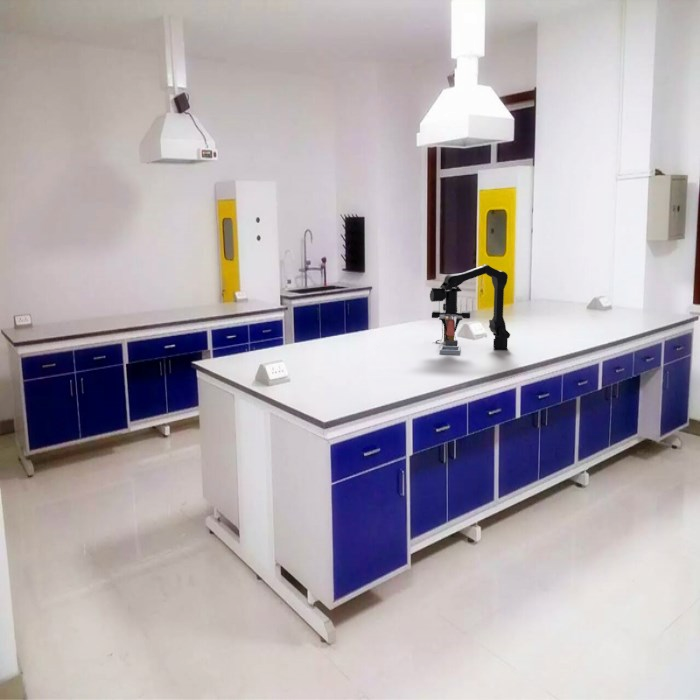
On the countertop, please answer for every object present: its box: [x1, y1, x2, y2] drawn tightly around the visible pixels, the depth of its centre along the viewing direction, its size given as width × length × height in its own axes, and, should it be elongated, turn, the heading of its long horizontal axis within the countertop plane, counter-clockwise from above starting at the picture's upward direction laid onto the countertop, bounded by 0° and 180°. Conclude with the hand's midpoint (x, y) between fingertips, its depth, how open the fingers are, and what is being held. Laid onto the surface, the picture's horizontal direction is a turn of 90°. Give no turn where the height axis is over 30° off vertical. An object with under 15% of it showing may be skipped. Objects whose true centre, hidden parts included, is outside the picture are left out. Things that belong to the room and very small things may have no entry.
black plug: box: [442, 339, 459, 346], centre depth 329 cm, size 7×4×4 cm
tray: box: [439, 345, 462, 356], centre depth 317 cm, size 10×10×2 cm
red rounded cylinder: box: [447, 316, 456, 336], centre depth 314 cm, size 4×4×9 cm
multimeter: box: [432, 311, 457, 345], centre depth 335 cm, size 15×10×20 cm
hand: (450, 331), depth 315 cm, fingers closed on red rounded cylinder, 4 cm apart
